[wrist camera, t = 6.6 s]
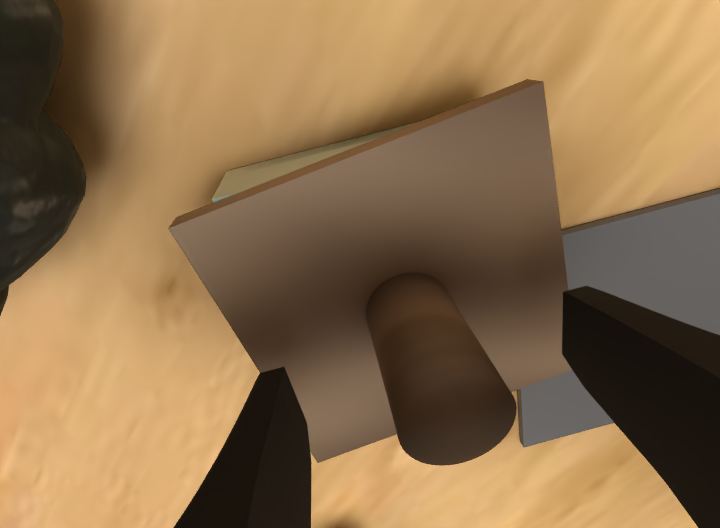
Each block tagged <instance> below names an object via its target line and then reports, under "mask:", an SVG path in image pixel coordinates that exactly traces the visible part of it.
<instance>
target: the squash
mask: <svg viewBox="0 0 720 528" xmlns="http://www.w3.org/2000/svg"><path fill="white" fill-rule="evenodd" d="M62 48H63V22H62V19H61V15H60V12H59V9H58V7H57V5H56V4H55V2H54V0H0V315H1V312H2V310H3V307H4V304H5V302H6V299H7V296H8V289H9V285H10V284H11V283H12V282H14V281H15V280H16V279H18V278H19V277H21V276H22V275H23V274H24V273H25V272H26V271H27V270H28V269H29V268H30V267H32V266H33V265H34V264H35V263H36V262H37V261H38V260H39V259H40V258H41V257H43V256H44V255H45V254H46V253H47V252H48V251H49V250H50V249H51V248H53V246H54V245H55V244H56V243H57V242H58V241H59V239H60V238H61V237H62V236H63V235H64V234H65V233H66V231H67V229H68V227H69V225H70V223H71V222H72V220H73V218H74V216H75V214H76V212H77V210H78V207H79V205H80V203H81V201H82V199H83V197H84V195H85V186H86V174H85V170H84V166H83V163H82V161H81V159H80V157H79V155H78V153H77V151H76V149H75V148H74V146H73V144H72V142H71V140H70V139H69V137H68V136H67V135H66V133H65V132H64V131H63V130H62V128H61V127H60V126H59V125H58V124H57V123H56V122H55V121H54V120H53V119H52V118H51V117H50V116H49V115H47V114H46V113H45V112H44V111H43V110H42V108H43V107H44V105H45V104H46V102H47V100H48V97H49V95H50V92H51V90H52V87H53V85H54V81H55V78H56V75H57V71H58V68H59V65H60V61H61V57H62Z"/></svg>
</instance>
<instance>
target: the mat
mask: <svg viewBox="0 0 720 528" xmlns="http://www.w3.org/2000/svg"><path fill="white" fill-rule="evenodd" d="M561 232H562V241H563V249H564V257H565V265H566V273H567V282H568V290H572V289H575V288H579V287H583V286H589V287H592V288H595V289H598V290H601V291H604V292H606V293H609V294H611V295H614V296H617V297H619V298H622V299H624V300H627V301H629V302H632V303H635V304H637V305H640V306H642V307H645V308H647V309H650V310H652V311H655V312H658V313H660V314H663V315H665V316H668V317H671V318H673V319H676V320H679V321H681V322H684V323H687V324H689V325H692V326H695V327H698V328H701V329H703V330H706V331H709V332H712V333H715V334H718V335H720V188H719V189H715V190H711V191H708V192H704V193H700V194H696V195H692V196H689V197H685V198H681V199H677V200H674V201H670V202H666V203H662V204H658V205H655V206H651V207H647V208H643V209H640V210H636V211H632V212H628V213H624V214H621V215H617V216H613V217H609V218H606V219H602V220H598V221H594V222H590V223H587V224H583V225H579V226H575V227H572V228H568V229H564V230H561ZM517 391H518V411H519V430H520V442H521V444H522V445H523V447H527V446H531V445H535V444H538V443H542V442H546V441H549V440H553V439H556V438H560V437H564V436H567V435H571V434H575V433H578V432H582V431H585V430H589V429H593V428H596V427H600V426H604V425H607V424H611V423H614V422H613V420H612V419H611V418H610V417H609V416H608V415H607V414H606V412H605V411H604V410H603V409H602V408H601V407H600V405H599V404H598V403H597V402H596V401H595V400H594V398H593V397H592V396H591V395H590V394H589V392H588V391H587V390H586V389H585V388H584V386H583V385H582V383H581V382H580V380H579V379H578V378H577V376H576V375H575V373H574V372H573V370H571V371H568V372H565V373H563V374H560V375H557V376H554V377H552V378H549V379H546V380H543V381H541V382H538V383H535V384H533V385H530V386H527V387H524V388H522V389H519V390H517Z"/></svg>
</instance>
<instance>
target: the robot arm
mask: <svg viewBox="0 0 720 528" xmlns="http://www.w3.org/2000/svg"><path fill="white" fill-rule="evenodd" d="M562 355H563V356H564V358H565V359H566V361H567V362H568V364H569V365H570V367H571V369H572V370H573V372H574V373H575V375H576V376H577V378H578V379H579V380H580V382H581V383H582V385H583V386H584V388H585V389H586V390H587V391H588V392H589V394H590V395H591V396H592V397H593V398H594V400H595V401H596V402H597V403H598V404H599V405H600V407H601V408H602V409H603V410H604V411H605V412H606V414H607V415H608V416H609V417H610V418H611V419H612V420H613V422H614V423H615V424H616V425H617V426H618V427H619V428H620V430H621V431H622V432H623V433H624V434H625V435H626V436H627V438H628V439H629V440H630V441H631V442H632V443H633V444H634V446H635V447H636V448H637V449H638V450H639V451H640V453H641V454H642V455H643V456H644V457H645V458H646V459H647V461H648V462H649V463H650V464H651V465H652V466H653V468H654V469H655V470H656V471H657V473H658V474H659V475H660V476H661V477H662V479H663V480H664V481H665V482H666V484H667V485H668V486H669V488H670V489H671V490H672V492H673V493H674V495H675V496H676V497H677V499H678V500H679V501H680V503H681V504H682V506H683V507H684V508H685V510H686V511H687V512H688V514H689V515H690V517H691V518H692V519H693V521H694V522H695V523H696V525H697V526H698V528H720V335H718V334H715V333H712V332H709V331H706V330H703V329H701V328H698V327H695V326H692V325H689V324H687V323H684V322H681V321H679V320H676V319H673V318H671V317H668V316H665V315H663V314H660V313H658V312H655V311H652V310H650V309H647V308H645V307H642V306H640V305H637V304H635V303H632V302H629V301H627V300H624V299H622V298H619V297H617V296H614V295H611V294H609V293H606V292H604V291H601V290H598V289H595V288H592V287H589V286H583V287H579V288H575V289H572V290H568V291H564V292H563V320H562ZM174 528H311V454H310V444H309V435H308V426H307V421H306V419H305V416H304V414H303V411H302V409H301V407H300V404H299V402H298V399H297V397H296V394H295V392H294V389H293V387H292V384H291V382H290V379H289V377H288V375H287V372H286V370H285V367H281V368H277V369H273V370H269V371H266V372H262V373H260V374H259V376H258V377H257V380H256V382H255V384H254V386H253V388H252V390H251V392H250V394H249V396H248V399H247V401H246V403H245V405H244V407H243V409H242V411H241V413H240V415H239V417H238V419H237V421H236V423H235V425H234V427H233V429H232V431H231V432H230V434H229V436H228V438H227V440H226V442H225V444H224V446H223V448H222V450H221V451H220V453H219V455H218V457H217V459H216V460H215V462H214V464H213V465H212V467H211V469H210V471H209V472H208V474H207V476H206V477H205V479H204V481H203V483H202V484H201V486H200V488H199V489H198V491H197V493H196V494H195V496H194V497H193V499H192V500H191V502H190V504H189V505H188V507H187V508H186V510H185V511H184V513H183V514H182V516H181V517H180V519H179V520H178V522H177V523H176V525H175V526H174Z"/></svg>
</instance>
